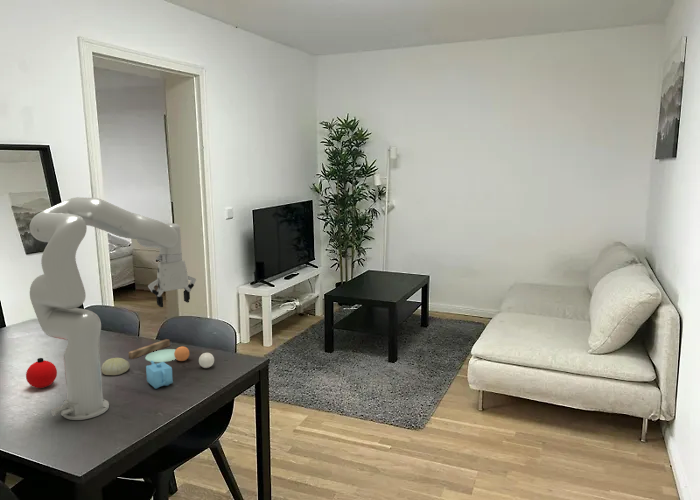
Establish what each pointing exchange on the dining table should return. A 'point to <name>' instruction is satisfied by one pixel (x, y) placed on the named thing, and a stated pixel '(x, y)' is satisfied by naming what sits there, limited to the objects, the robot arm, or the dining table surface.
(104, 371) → the sea urchin shell
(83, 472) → the dining table surface
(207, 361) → the cue ball
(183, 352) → the orange ball
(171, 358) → the mint mark
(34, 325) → the dining table surface
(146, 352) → the walnut rail
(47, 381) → the ornament
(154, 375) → the blue fidget cube
